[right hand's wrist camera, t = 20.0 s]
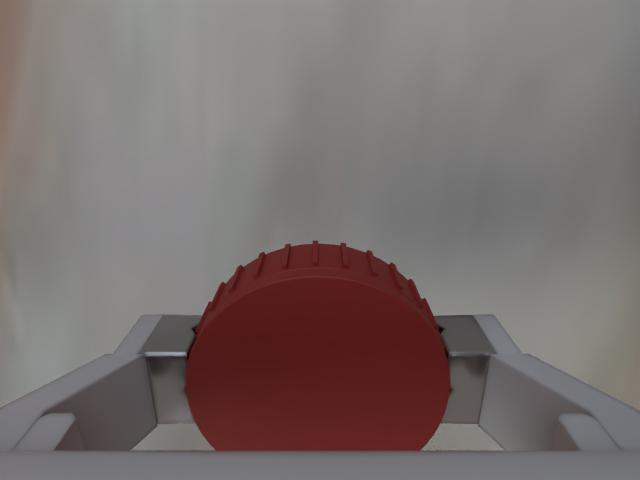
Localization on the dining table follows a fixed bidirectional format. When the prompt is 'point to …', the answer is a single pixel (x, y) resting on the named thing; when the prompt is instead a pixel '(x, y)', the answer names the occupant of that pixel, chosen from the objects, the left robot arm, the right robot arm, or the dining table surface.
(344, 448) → the lid
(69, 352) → the dining table surface
